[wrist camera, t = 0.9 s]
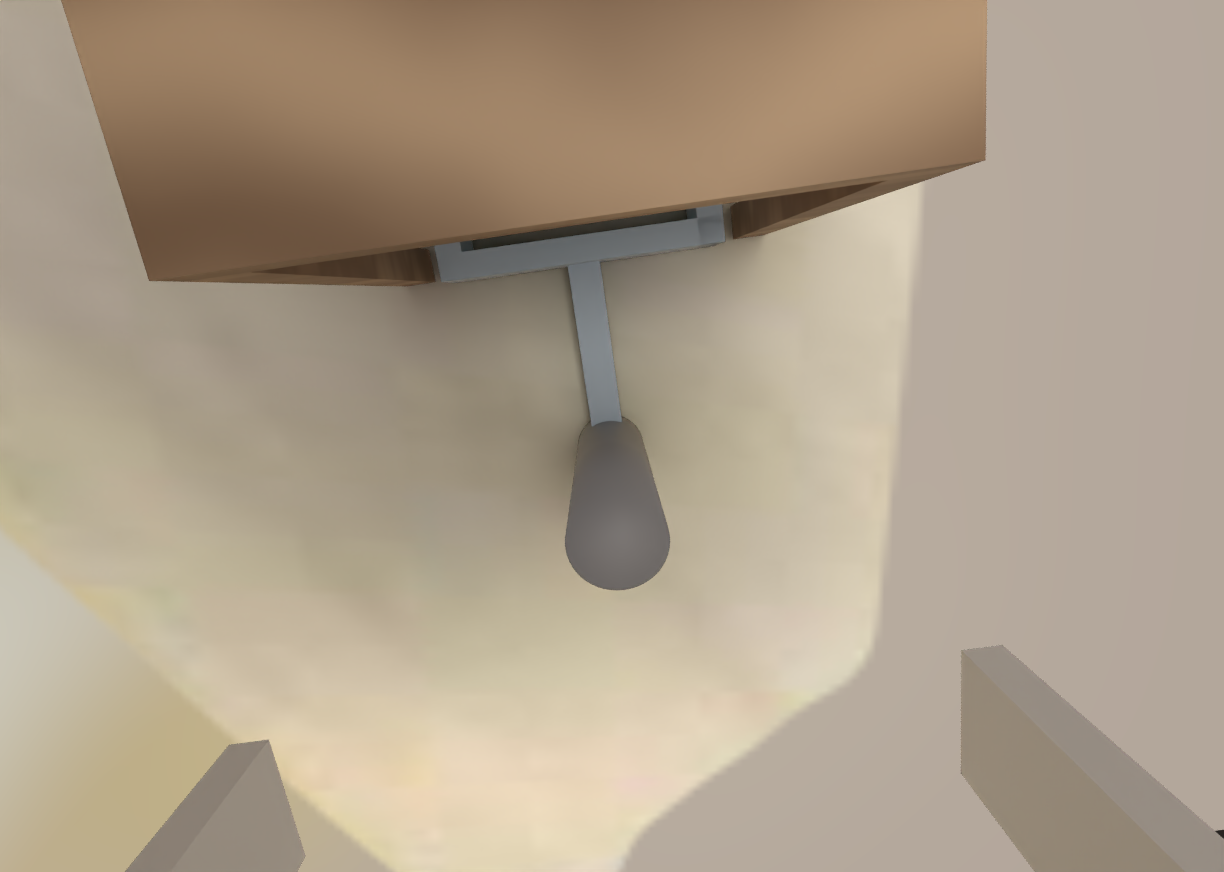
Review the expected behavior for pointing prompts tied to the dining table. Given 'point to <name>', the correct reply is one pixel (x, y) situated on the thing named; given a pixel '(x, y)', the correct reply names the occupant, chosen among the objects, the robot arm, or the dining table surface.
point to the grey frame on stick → (600, 392)
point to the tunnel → (508, 120)
